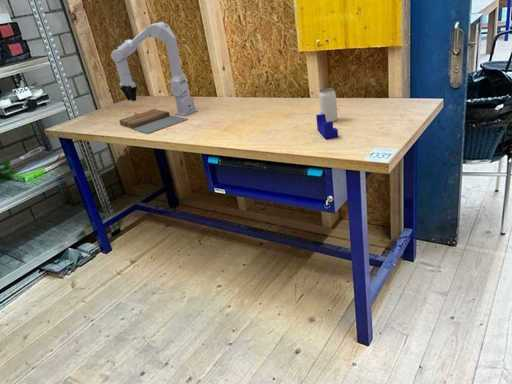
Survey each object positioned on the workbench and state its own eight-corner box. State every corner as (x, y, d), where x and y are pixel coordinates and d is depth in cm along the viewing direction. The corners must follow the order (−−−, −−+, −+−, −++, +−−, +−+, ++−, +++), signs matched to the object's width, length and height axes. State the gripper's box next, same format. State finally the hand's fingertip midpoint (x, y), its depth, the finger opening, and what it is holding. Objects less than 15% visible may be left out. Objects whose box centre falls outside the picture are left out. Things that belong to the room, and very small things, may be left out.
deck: (170, 116, 214) (168, 112, 213) (134, 129, 203) (133, 124, 202) (155, 113, 225) (154, 109, 224) (120, 125, 215) (119, 120, 214)
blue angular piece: (338, 137, 148) (337, 121, 145) (325, 140, 148) (324, 123, 145) (329, 128, 159) (328, 112, 156) (317, 130, 159) (316, 115, 156)
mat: (188, 119, 203) (188, 118, 203) (147, 134, 191) (147, 133, 191) (171, 116, 214) (171, 115, 214) (132, 129, 202) (132, 128, 202)
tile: (151, 113, 215) (150, 110, 214) (140, 117, 212) (139, 113, 211) (145, 112, 220) (144, 108, 219) (134, 116, 217) (133, 112, 216)
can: (338, 117, 168) (336, 87, 163) (336, 122, 163) (333, 91, 158) (322, 118, 171) (320, 88, 166) (319, 123, 165) (316, 92, 160)
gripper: (111, 75, 216) (119, 101, 222) (123, 76, 206) (131, 103, 212) (123, 72, 220) (131, 97, 226) (136, 72, 210) (143, 99, 215)
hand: (132, 100), depth 219 cm, fingers open, 5 cm apart
